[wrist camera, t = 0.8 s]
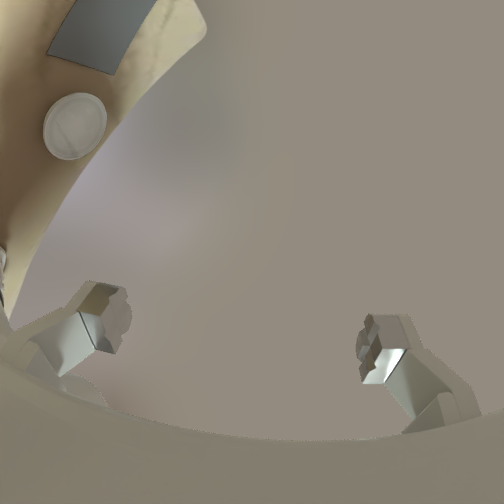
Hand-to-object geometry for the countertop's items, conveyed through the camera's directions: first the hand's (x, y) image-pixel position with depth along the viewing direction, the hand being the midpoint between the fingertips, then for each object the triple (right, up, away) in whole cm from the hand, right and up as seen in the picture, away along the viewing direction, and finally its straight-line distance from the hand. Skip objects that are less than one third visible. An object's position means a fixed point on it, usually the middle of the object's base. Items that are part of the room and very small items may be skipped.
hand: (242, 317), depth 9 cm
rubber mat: (-23, +40, +20) cm, 50 cm away
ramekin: (-31, +24, +27) cm, 48 cm away
